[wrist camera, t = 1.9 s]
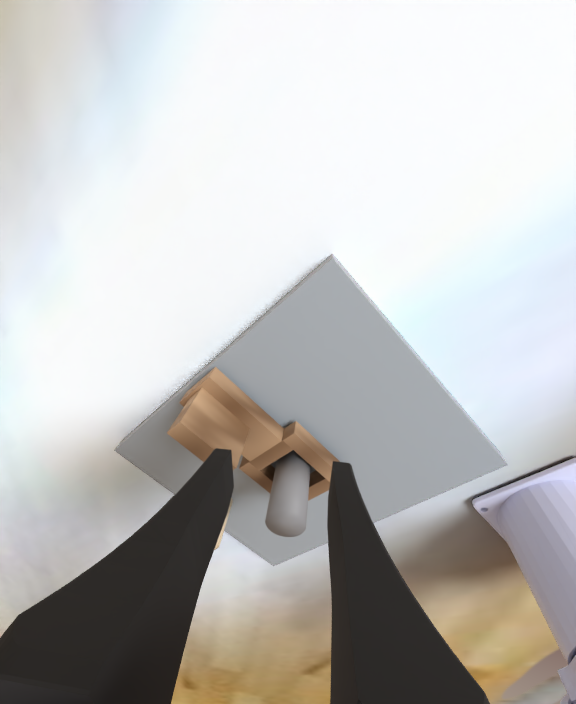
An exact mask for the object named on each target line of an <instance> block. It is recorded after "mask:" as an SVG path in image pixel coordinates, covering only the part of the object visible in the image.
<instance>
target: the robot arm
mask: <svg viewBox="0 0 576 704" xmlns="http://www.w3.org/2000/svg"><path fill="white" fill-rule="evenodd" d="M233 489H234V479H233V465H232V451H231V450H228V449H219V448H216V449H214V450H213V452H212V453H211V454H210V455H209V457H208V458H207V459H206V460H205V461H204V463H203V464H202V465H201V466H200V467H199V469H198V470H197V471H196V472H195V473H194V474H193V476H192V477H191V478H190V479H189V480H188V481H187V482H186V483H185V485H184V486H183V487H182V488H181V489H180V490H179V491H178V492H177V493H176V494H175V495H174V496H173V497H172V498H171V499H170V500H169V501H168V502H167V503H166V504H165V505H164V506H163V507H162V508H161V509H160V510H159V511H158V512H157V513H156V514H155V515H154V516H153V517H152V518H151V519H150V520H149V521H148V522H147V523H146V524H144V525H143V526H142V527H141V528H140V529H139V530H138V531H137V532H135V533H134V534H133V535H132V536H131V537H129V538H128V539H127V540H126V541H125V542H123V543H122V544H121V545H120V546H118V547H117V548H116V549H115V550H114V551H112V552H111V553H110V554H108V555H107V556H106V557H104V558H103V559H102V560H101V561H99V562H98V563H96V564H95V565H94V566H92V567H91V568H89V569H88V570H87V571H85V572H84V573H82V574H81V575H80V576H78V577H77V578H75V579H74V580H73V581H71V582H70V583H68V584H67V585H65V586H64V587H62V588H61V589H59V590H58V591H56V592H54V593H53V594H51V595H50V596H48V597H47V598H45V599H43V600H42V601H40V602H39V603H37V604H36V605H34V606H32V607H31V608H29V609H28V610H26V611H24V612H23V613H21V614H19V615H18V616H17V618H16V619H15V620H14V621H13V623H12V624H11V625H10V626H9V627H8V629H7V630H6V631H5V632H4V634H3V635H2V636H1V638H0V704H171V700H172V696H173V692H174V688H175V684H176V680H177V676H178V672H179V668H180V664H181V660H182V656H183V652H184V648H185V644H186V640H187V636H188V632H189V629H190V625H191V621H192V617H193V614H194V610H195V606H196V603H197V599H198V596H199V592H200V588H201V585H202V582H203V579H204V576H205V573H206V570H207V568H208V565H209V562H210V559H211V557H212V554H213V551H214V549H215V546H216V543H217V540H218V538H219V535H220V532H221V529H222V527H223V524H224V521H225V518H226V516H227V513H228V509H229V505H230V501H231V497H232V493H233ZM472 505H473V507H474V508H475V509H476V510H477V512H478V513H479V514H480V515H481V516H482V517H483V518H484V519H485V520H486V521H487V522H488V523H489V524H490V525H491V526H492V527H493V528H494V529H495V530H496V531H497V533H498V534H499V535H500V536H501V537H502V538H503V539H504V540H505V541H506V542H507V543H508V545H509V547H510V549H511V551H512V553H513V555H514V557H515V559H516V561H517V563H518V565H519V567H520V569H521V571H522V573H523V575H524V577H525V579H526V581H527V583H528V585H529V587H530V589H531V591H532V594H533V596H534V598H535V600H536V602H537V604H538V606H539V608H540V610H541V612H542V614H543V616H544V618H545V620H546V622H547V624H548V626H549V628H550V630H551V632H552V634H553V636H554V638H555V640H556V642H557V644H558V646H559V648H560V650H561V652H562V654H563V656H564V658H565V660H566V662H567V664H568V665H567V666H566V667H564V668H561V669H559V670H558V671H557V672H558V674H559V676H560V678H561V680H562V682H563V685H564V687H565V689H566V691H567V693H568V694H566V695H565V696H564V697H563V698H562V699H561V702H560V704H576V458H573V459H570V460H568V461H565V462H563V463H561V464H558V465H556V466H553V467H551V468H548V469H546V470H543V471H541V472H539V473H536V474H534V475H531V476H529V477H526V478H524V479H521V480H519V481H516V482H514V483H512V484H509V485H507V486H504V487H502V488H499V489H497V490H494V491H492V492H489V493H487V494H485V495H482V496H480V497H477V498H475V499H473V501H472ZM327 530H328V546H329V562H330V577H331V592H332V645H331V699H330V704H490V703H489V701H488V699H487V696H486V694H485V692H484V691H483V690H482V688H481V687H480V686H479V685H478V683H477V682H476V681H475V680H474V678H473V677H472V676H471V675H470V673H469V672H468V671H467V670H466V668H465V667H464V666H463V664H462V663H461V662H460V660H459V659H458V658H457V656H456V655H455V654H454V653H453V651H452V650H451V649H450V647H449V646H448V644H447V643H446V642H445V640H444V639H443V638H442V636H441V635H440V633H439V632H438V631H437V629H436V628H435V627H434V625H433V624H432V622H431V621H430V619H429V618H428V616H427V615H426V613H425V612H424V610H423V609H422V607H421V606H420V604H419V603H418V601H417V600H416V598H415V597H414V595H413V594H412V592H411V591H410V589H409V588H408V586H407V584H406V583H405V581H404V579H403V578H402V576H401V575H400V573H399V571H398V569H397V568H396V566H395V564H394V563H393V561H392V559H391V557H390V555H389V554H388V552H387V550H386V548H385V546H384V544H383V542H382V540H381V538H380V536H379V534H378V532H377V530H376V528H375V526H374V524H373V522H372V520H371V517H370V515H369V513H368V510H367V508H366V506H365V503H364V501H363V499H362V496H361V493H360V491H359V488H358V485H357V482H356V479H355V476H354V473H353V469H352V465H351V464H350V463H346V462H336V461H333V464H332V471H331V479H330V487H329V494H328V516H327Z"/></svg>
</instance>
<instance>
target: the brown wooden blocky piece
mask: <svg viewBox="0 0 576 704" xmlns="http://www.w3.org/2000/svg"><path fill="white" fill-rule="evenodd" d="M179 403H180V404H181V405H182V406H183V407H184V408H183V409H182V411H181V412H180V414H179V415H178V417H177V418H176V420H175V421H174V423H173V424H172V426H171V427H170V429H169V430H168V432H167V434H168V435H170V436H171V437H172V438H173V439H175V440H176V441H177V442H179V443H180V444H181V445H182V446H184V447H185V448H186V449H187V450H189V451H190V452H191V453H193V454H194V455H195V456H196V457H198V458H199V459H200V460H201V461H203V462H204V461H205V460H206V459H207V458H208V457H209V455H210V454H211V453H212V452H213V450H214V449H216V448H219V449H228V450H231V451H232V465H233V470H234V469H236V468H237V465H238V462H239V459H240V456H241V455H243V458H242V461H241V464H240V467H239V469H240V470H242V471H243V472H244V473H245V474H246V475H248V476H249V477H250V478H251V479H253V480H254V481H255V482H256V483H258V484H259V485H260V486H261V487H263V488H264V489H265V490H266V491H267V492H269V493H271V488H272V483H273V478H274V473H275V468H274V467H273V466H272V465H271V463H273V462H275V461H276V460H278V459H279V458H281V457H283V456H284V455H286V454H288V453H289V452H291V451H292V450H294V451H295V452H296V453H297V454H299V455H300V456H301V457H302V458H303V459H304V460H305V461H306V462H308V463H309V464H310V465H311V466H312V467H313V468H314V469H315V470H316V471H314V472H312V473H310V481H309V495H308V501H309V500H311V499H313V498H315V497H317V496H319V495H321V494H323V493H324V492H326V491H328V490H329V487H330V479H331V471H332V464H333V461H336V462H340V461H339V460H338V459H337V458H336V457H335V456H334V455H333V454H331V453H330V452H329V451H328V450H327V449H326V448H325V447H324V446H323V445H322V444H321V443H320V442H319V441H317V440H316V439H315V438H314V437H313V436H312V435H311V434H310V433H309V432H308V431H307V430H306V429H304V428H303V427H302V426H301V425H300V424H299V423H298V422H297V421H295V422H293V423H292V424H290V425H289V426H287V427H286V428H283V427H282V426H281V425H279V424H278V423H277V422H276V421H275V420H274V419H273V418H272V417H271V416H270V415H268V414H267V413H266V412H265V411H264V410H263V409H262V408H261V407H260V406H258V405H257V404H256V403H255V402H254V401H253V400H252V399H251V398H250V397H249V396H247V395H246V394H245V393H244V392H243V391H242V390H241V389H240V388H239V387H237V386H236V385H235V384H234V383H233V382H232V381H231V380H230V379H229V378H227V377H226V376H225V375H224V374H223V373H222V372H221V371H220V370H219V369H218V368H216V367H215V368H214V369H212V370H211V371H210V372H209V373H208V374H207V375H206V376H204V377H203V378H202V379H201V380H200V381H199V382H197V383H196V384H195V385H194V386H193V387H192V388H191V389H189V390H188V391H187V392H186V394H185V395H184V396H183V398H182V399H181V401H180V402H179Z"/></svg>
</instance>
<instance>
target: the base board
mask: <svg viewBox="0 0 576 704" xmlns="http://www.w3.org/2000/svg"><path fill="white" fill-rule="evenodd" d="M215 367H216V368H218V369H219V370H220V371H221V372H222V373H223V374H224V375H225V376H226V377H227V378H229V379H230V380H231V381H232V382H233V383H234V384H235V385H236V386H237V387H239V388H240V389H241V390H242V391H243V392H244V393H245V394H246V395H247V396H249V397H250V398H251V399H252V400H253V401H254V402H255V403H256V404H257V405H258V406H260V407H261V408H262V409H263V410H264V411H265V412H266V413H267V414H268V415H270V416H271V417H272V418H273V419H274V420H275V421H276V422H277V423H278V424H279V425H281V426H282V427H283V428H286V427H287V426H289V425H290V424H292V423H293V422H295V421H297V422H298V423H299V424H300V425H301V426H302V427H303V428H304V429H306V430H307V431H308V432H309V433H310V434H311V435H312V436H313V437H314V438H315V439H316V440H317V441H319V442H320V443H321V444H322V445H323V446H324V447H325V448H326V449H327V450H328V451H329V452H330V453H331V454H333V455H334V456H335V457H336V458H337V459H338V460H339V461H340V462H346V463H350V464H351V465H352V469H353V473H354V476H355V479H356V482H357V485H358V488H359V491H360V493H361V496H362V499H363V501H364V503H365V506H366V508H367V510H368V513H369V515H370V517H371V520H372V522H373V523H375V522H377V521H379V520H381V519H384V518H386V517H388V516H391V515H393V514H395V513H398V512H400V511H402V510H405V509H407V508H409V507H411V506H414V505H416V504H418V503H421V502H423V501H425V500H428V499H430V498H432V497H435V496H437V495H439V494H442V493H444V492H446V491H448V490H451V489H453V488H455V487H458V486H460V485H462V484H465V483H467V482H469V481H472V480H474V479H476V478H478V477H481V476H483V475H485V474H488V473H490V472H492V471H495V470H497V469H499V468H502V467H504V466H506V465H508V464H507V463H506V461H505V460H504V458H503V457H502V455H501V453H500V452H499V451H498V449H497V448H496V447H495V446H494V445H493V443H492V442H491V441H490V440H489V439H488V438H487V436H486V435H485V434H484V433H483V432H482V430H481V429H480V428H479V427H478V426H477V425H476V423H475V422H474V421H473V420H472V419H471V417H470V416H469V415H468V414H467V413H466V411H465V410H464V409H463V408H462V407H461V406H460V404H459V403H458V402H457V401H456V400H455V398H454V397H453V396H452V395H451V394H450V393H449V391H448V390H447V389H446V388H445V387H444V385H443V384H442V383H441V382H440V381H439V379H438V378H437V377H436V376H435V375H434V374H433V372H432V371H431V370H430V369H429V368H428V366H427V365H426V364H425V363H424V362H423V361H422V359H421V358H420V357H419V356H418V355H417V353H416V352H415V351H414V350H413V349H412V347H411V346H410V345H409V344H408V343H407V342H406V340H405V339H404V338H403V337H402V336H401V334H400V333H399V332H398V331H397V330H396V329H395V327H394V326H393V325H392V324H391V323H390V321H389V320H388V319H387V318H386V317H385V315H384V314H383V313H382V312H381V311H380V310H379V308H378V307H377V306H376V305H375V304H374V302H373V301H372V300H371V299H370V298H369V297H368V295H367V294H366V293H365V292H364V291H363V289H362V288H361V287H360V286H359V285H358V283H357V282H356V281H355V280H354V279H353V278H352V276H351V275H350V274H349V273H348V272H347V270H346V269H345V268H344V267H343V266H342V265H341V263H340V262H339V261H338V260H337V259H336V257H335V256H334V255H333V254H332V255H330V256H329V257H328V258H327V259H326V260H325V261H324V262H323V263H321V264H320V265H319V266H318V267H317V268H316V269H315V270H314V271H312V272H311V273H310V274H309V275H308V276H307V277H306V278H305V279H303V280H302V281H301V282H300V283H299V284H298V285H297V286H296V287H294V288H293V289H292V290H291V291H290V292H289V293H288V294H287V295H285V296H284V297H283V298H282V299H281V300H280V301H279V302H278V303H276V304H275V305H274V306H273V307H272V308H271V309H270V310H268V311H267V312H266V313H265V314H264V315H263V316H262V317H261V318H259V319H258V320H257V321H256V322H255V323H254V324H253V325H252V326H250V327H249V328H248V329H247V330H246V331H245V332H244V333H243V334H241V335H240V336H239V337H238V338H237V339H236V340H235V341H234V342H232V343H231V344H230V345H229V346H228V347H227V348H226V349H225V350H223V351H222V352H221V353H220V354H219V355H218V356H217V357H216V358H214V359H213V360H212V361H211V362H210V363H209V364H208V365H207V366H205V367H204V368H203V369H202V370H201V371H200V372H199V373H198V374H196V375H195V376H194V377H193V378H192V379H191V380H190V381H188V382H187V383H186V384H185V385H184V386H183V387H182V388H181V389H179V390H178V391H177V392H176V393H175V394H174V395H173V396H172V397H170V398H169V399H168V400H167V401H166V402H165V403H164V404H163V405H161V406H160V407H159V408H158V409H157V410H156V411H155V412H154V413H152V414H151V415H150V416H149V417H148V418H147V419H146V420H145V421H143V422H142V423H141V424H140V425H139V426H138V427H137V428H136V429H134V430H133V431H132V432H131V433H130V434H129V435H128V436H127V437H125V438H124V439H123V440H122V441H121V443H120V444H119V445H118V446H117V448H116V449H115V450H114V451H116V452H117V453H119V454H120V455H121V456H123V457H124V458H125V459H127V460H128V461H130V462H131V463H132V464H134V465H135V466H136V467H138V468H139V469H141V470H142V471H143V472H145V473H146V474H147V475H149V476H150V477H152V478H153V479H154V480H156V481H157V482H158V483H160V484H161V485H163V486H164V487H165V488H167V489H168V490H169V491H171V492H172V493H174V494H176V493H177V492H178V491H179V490H180V489H181V488H182V487H183V486H184V485H185V483H186V482H187V481H188V480H189V479H190V478H191V477H192V476H193V474H194V473H195V472H196V471H197V470H198V469H199V467H200V466H201V465H202V464H203V463H204V462H203V461H201V460H200V459H199V458H198V457H196V456H195V455H194V454H193V453H191V452H190V451H189V450H187V449H186V448H185V447H184V446H182V445H181V444H180V443H179V442H177V441H176V440H175V439H173V438H172V437H171V436H170V435H168V434H167V432H168V430H169V429H170V427H171V426H172V424H173V423H174V421H175V420H176V418H177V417H178V415H179V414H180V412H181V411H182V409H183V408H184V407H183V406H182V405H181V404H180V403H179V402H180V401H181V399H182V398H183V396H184V395H185V394H186V392H187V391H188V390H189V389H191V388H192V387H193V386H194V385H195V384H196V383H197V382H199V381H200V380H201V379H202V378H203V377H204V376H206V375H207V374H208V373H209V372H210V371H211V370H212V369H214V368H215ZM242 458H243V455H241V456H240V459H239V462H238V465H237V468H236V469H234V470H233V479H234V489H233V493H232V497H231V501H230V505H229V509H228V513H227V516H226V518H225V521H224V524H223V527H222V529H221V532H220V535H219V538H218V540H217V543H216V546H215V549H217V548H218V547H219V545H220V542H221V539H222V536H223V532H224V531H226V532H227V533H229V534H230V535H231V536H233V537H234V538H235V539H237V540H238V541H240V542H241V543H242V544H244V545H245V546H246V547H248V548H249V549H251V550H252V551H253V552H255V553H256V554H257V555H259V556H260V557H262V558H263V559H264V560H266V561H267V562H268V563H270V564H271V565H273V566H275V565H277V564H280V563H282V562H284V561H287V560H289V559H291V558H294V557H296V556H298V555H301V554H303V553H305V552H308V551H310V550H312V549H314V548H317V547H319V546H321V545H324V544H326V543H328V530H327V516H328V494H329V490H328V491H326V492H324V493H323V494H321V495H319V496H317V497H315V498H313V499H311V500H309V501H308V495H309V481H310V473H312V472H314V471H316V470H315V469H314V468H313V467H312V466H311V465H310V464H309V463H308V462H306V461H305V460H304V459H303V458H302V457H301V456H300V455H299V454H297V453H296V452H295V451H294V450H292V451H291V452H289V453H288V454H286V455H284V456H283V457H281V458H279V459H278V460H276V461H275V462H273V463H271V465H272V466H273V467H274V468H275V473H274V478H273V483H272V488H271V493H269V492H267V491H266V490H265V489H264V488H263V487H261V486H260V485H259V484H258V483H256V482H255V481H254V480H253V479H251V478H250V477H249V476H248V475H246V474H245V473H244V472H243V471H242V470H240V469H239V467H240V464H241V461H242ZM215 549H214V550H215Z"/></svg>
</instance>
